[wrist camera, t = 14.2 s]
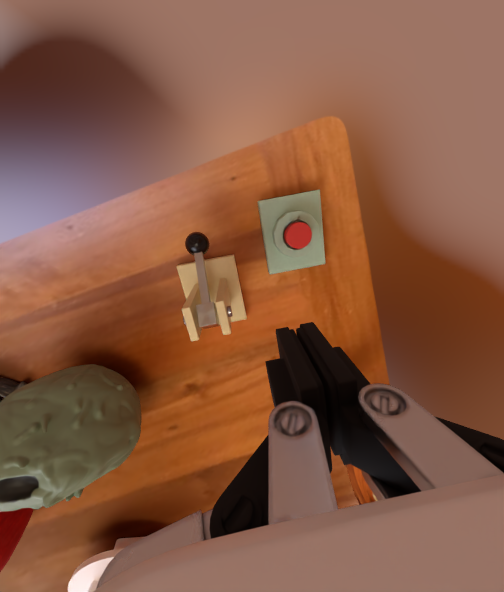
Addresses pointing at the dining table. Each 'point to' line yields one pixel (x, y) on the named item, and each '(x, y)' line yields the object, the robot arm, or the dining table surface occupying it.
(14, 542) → the apple
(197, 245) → the switch lever
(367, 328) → the dining table surface
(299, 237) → the console button
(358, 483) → the beer glass
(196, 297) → the switch bracket
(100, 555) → the ribbed cylinder on disc
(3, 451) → the green rock
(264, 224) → the grey button base
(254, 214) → the dining table surface
